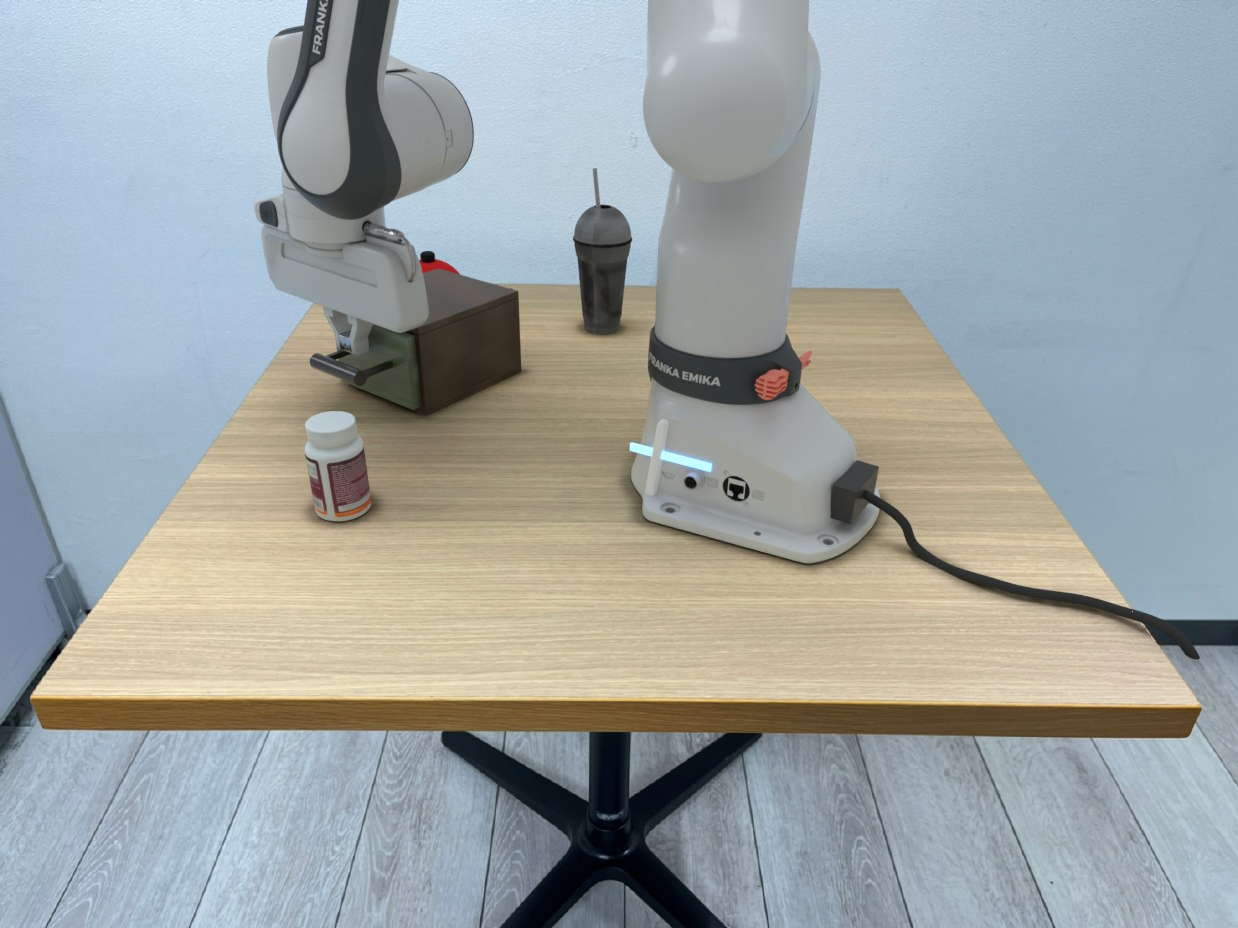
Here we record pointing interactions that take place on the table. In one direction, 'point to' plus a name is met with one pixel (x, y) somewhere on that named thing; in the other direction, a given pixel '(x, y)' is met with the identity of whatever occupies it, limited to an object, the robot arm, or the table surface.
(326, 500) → the pill bottle
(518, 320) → the cabinet
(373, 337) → the drawer
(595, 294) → the beverage cup
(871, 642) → the table surface
